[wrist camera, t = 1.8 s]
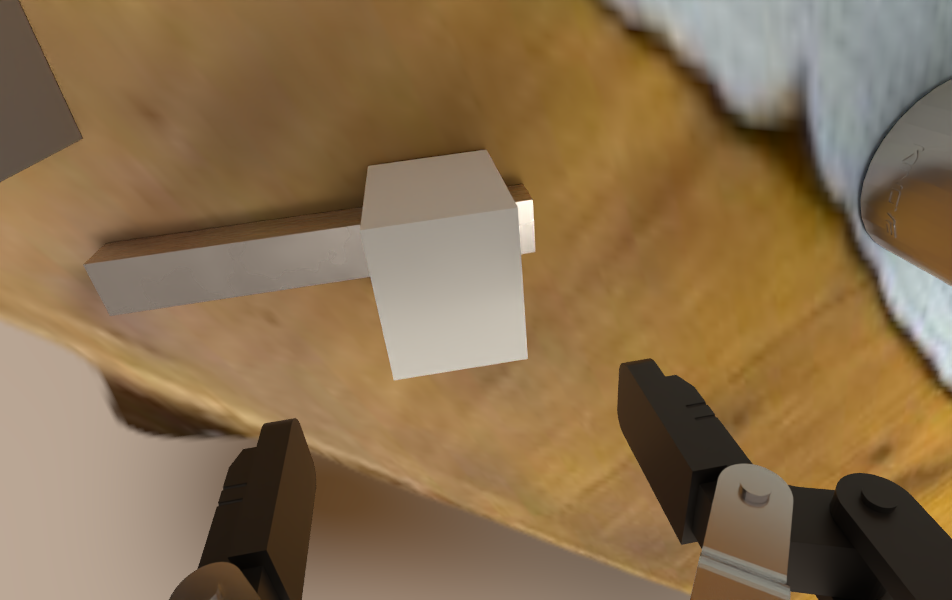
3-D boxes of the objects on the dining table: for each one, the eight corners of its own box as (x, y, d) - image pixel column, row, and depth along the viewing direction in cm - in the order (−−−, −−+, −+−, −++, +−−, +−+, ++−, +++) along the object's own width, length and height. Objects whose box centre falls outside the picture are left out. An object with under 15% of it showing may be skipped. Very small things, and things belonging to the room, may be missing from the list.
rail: (522, 183, 25) (532, 199, 23) (525, 233, 26) (535, 251, 24) (105, 243, 23) (83, 264, 22) (129, 292, 25) (110, 315, 23)
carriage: (486, 149, 23) (517, 207, 18) (498, 274, 26) (527, 358, 21) (368, 166, 23) (359, 230, 17) (393, 290, 26) (394, 380, 20)
